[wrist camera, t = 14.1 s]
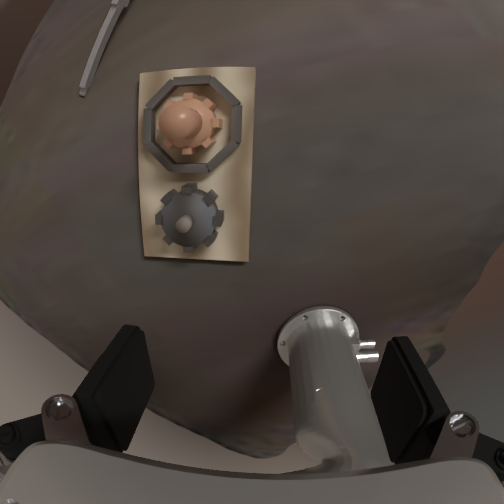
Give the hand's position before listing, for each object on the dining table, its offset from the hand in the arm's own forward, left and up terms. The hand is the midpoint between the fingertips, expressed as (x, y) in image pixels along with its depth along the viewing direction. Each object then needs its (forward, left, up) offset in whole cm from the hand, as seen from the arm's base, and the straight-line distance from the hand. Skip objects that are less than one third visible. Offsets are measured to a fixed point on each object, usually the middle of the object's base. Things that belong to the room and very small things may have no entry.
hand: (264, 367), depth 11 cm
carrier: (+9, -4, -28) cm, 30 cm away
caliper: (+21, -24, -29) cm, 43 cm away
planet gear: (+9, -9, -27) cm, 30 cm away
